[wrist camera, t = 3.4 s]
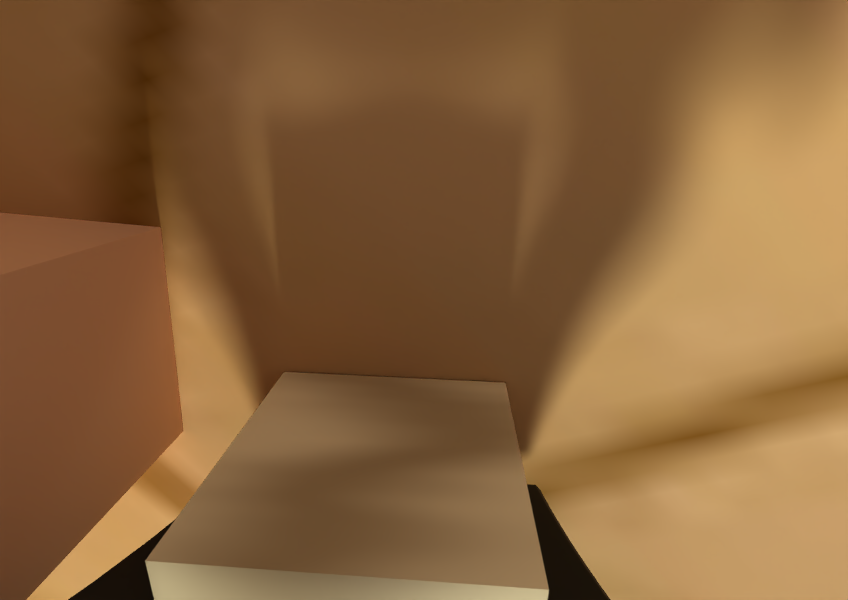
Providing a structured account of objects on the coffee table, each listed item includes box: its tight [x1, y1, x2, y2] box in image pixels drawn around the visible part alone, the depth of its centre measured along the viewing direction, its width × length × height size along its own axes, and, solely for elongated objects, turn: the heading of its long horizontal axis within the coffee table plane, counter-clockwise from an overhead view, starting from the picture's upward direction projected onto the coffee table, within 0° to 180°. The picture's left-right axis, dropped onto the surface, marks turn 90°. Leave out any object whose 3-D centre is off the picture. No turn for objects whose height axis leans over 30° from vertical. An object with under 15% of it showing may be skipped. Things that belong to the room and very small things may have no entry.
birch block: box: [145, 372, 549, 600], centre depth 9 cm, size 5×5×5 cm
